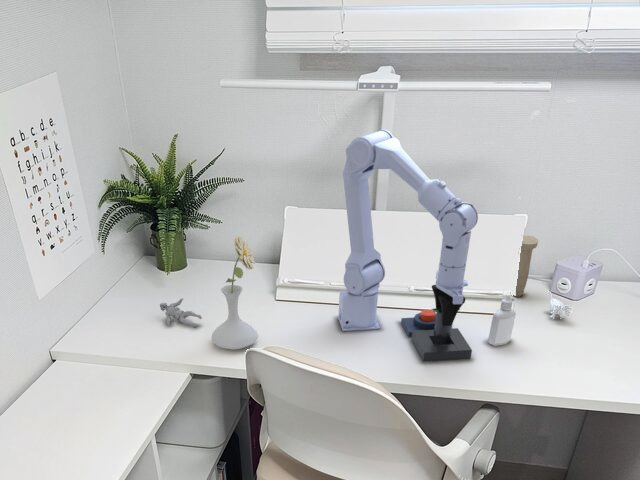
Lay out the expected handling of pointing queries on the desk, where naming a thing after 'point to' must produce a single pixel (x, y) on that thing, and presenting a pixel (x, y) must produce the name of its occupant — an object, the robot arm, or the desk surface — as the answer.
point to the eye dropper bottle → (502, 323)
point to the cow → (558, 308)
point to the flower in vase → (236, 307)
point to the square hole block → (441, 346)
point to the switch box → (416, 324)
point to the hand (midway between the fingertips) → (444, 320)
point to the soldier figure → (178, 313)
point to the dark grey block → (439, 328)
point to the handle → (525, 262)
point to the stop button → (427, 315)
